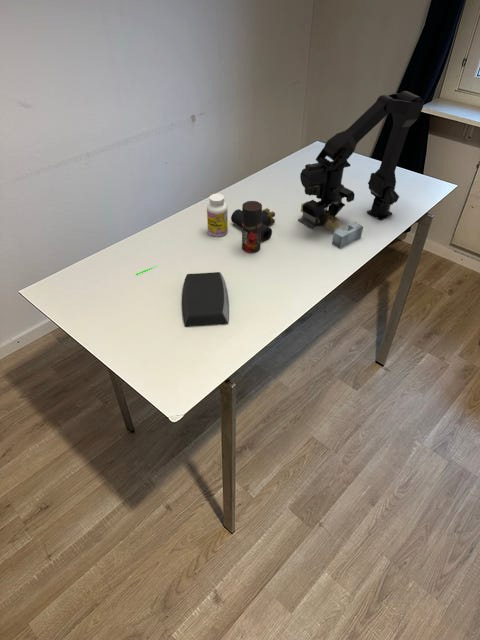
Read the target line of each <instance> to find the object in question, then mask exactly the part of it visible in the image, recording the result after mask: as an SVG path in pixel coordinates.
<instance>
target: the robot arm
mask: <svg viewBox="0 0 480 640" xmlns="http://www.w3.org/2000/svg"><path fill="white" fill-rule="evenodd" d="M424 103H425V102H424V100H423V98H422V97H420V96H419V95H416V94H414V93H413V92H409V91H407V90H403V91H401V92H400V93H393V92H392V93H389V94H381V95H379V96H378V97H377V99H376V101H375V102H374V103H373V104H372V105H371V106H370V107H369V108H368V109H367V110H366V111H365V112H364V113H363V114H362V115H361V116H359V118H358V119H356V120H355V121H354V123H352V124H351V125H350V126H349V127H348V128H347V129H345V130H344V131H341V132H338V133H336V134H334V135H333V136H332V137H330V138H329V139H328V140H327V141H326V142H325V144H324V146H323V148H322V150H320V151H319V154H318V155H317V156H316V158H315V161H316V162H314V163H307V164H305V166H304V168H303V169H302V170H301V172H300V176H299V178H300V182H301V186H302V187H303V188H304V194H305V195H307V196H316V199H318V201H316V200H315V199H311V200H308V202H307V201H305V202H306V203H305V202H303V203H304V204H303V209H302V211H304V212H305V213H307V214H309V215H311V216H312V217H318V218H319V222H320V225H321V227H325V226H324V224H325V222H326V220H327V218H328V216H329V214H331V215H333V216H335V217H336V216H337V215H338V214H339V212H340V211H341V210H342V209H343V207H345V206H346V204H345V203H344V202H343V199H344V198H346V199H345V202H347V203H350V202H353V201H355V191H354V190H353V191H352V190H351V189H350V188H347V187H345V186H344V184H342V182H343V181H342V180H343V175H344V171H345V170H344V169H345V168H348V167H351V163H349V161H348V159H349V158H350V157H351V156H352V155H353V154H354V152H355V151H356V148H357V146H358V145H357V144H358V143H359V142H360V141H361V140H362V139H363V138H364V137H365V136H366V135H368V133H370V132H371V131H372V130H373V129H374V128H375V127H376V126H377V125H378V124H379V123H380V122H381V121H382V120H383V119H384V118H386V116H388V115H389V114H391V117H392V122H393V123H392V126H391V131H390V134H389V136H388V140H387V143H386V146H385V150H384V153H383V156H382V159H381V164H380V166H379V168H378V169H377V170H376V171H375V172H372V173H370V175H369V176H370V177H369V180H368V182H367V184H368V189H369V191H370V194H371V195H373V196H374V198H373V201H372V205H371V209H369V210H367V211H366V213H367V214H368V215H370V216H372V217H374V218H376V219H377V220H379V221H382V220H384V219H386V218H388V217H391V216H392V215H393V212H392V211H390V209H391V206H393V205H394V204H395V203H397V202H398V200H399V198H400V195H399V194H398V193H397V192H396V190H395V188H396V183H397V177H396V169H397V166H398V163H399V160H400V156H401V154H402V152H403V148H404V145H405V142H406V139H407V136H408V134H409V130H410V128H411V126H412V125H413V124H415V122H416V121H418V119H419V117H420V115H421V112H422V110H423V108H424ZM327 158H329V159H331V160H332V161H330V160H329V159H327Z"/></svg>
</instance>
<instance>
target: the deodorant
mask: <svg viewBox="0 0 480 640" xmlns="http://www.w3.org/2000/svg"><path fill="white" fill-rule="evenodd" d="M241 208H242V209H241V210H242V228H241V249H242V251H244V252H245V253H247V254H256V253H258V252H259V251H261V242H262V241H261V221H262V210H263V205H262V202H260V201H256V200H248V201H245V202H243V203H242V207H241Z"/></svg>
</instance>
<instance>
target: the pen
mask: <svg viewBox="0 0 480 640" xmlns="http://www.w3.org/2000/svg"><path fill="white" fill-rule="evenodd" d="M154 267H155V268H157V267H158V265H156V266H153V267H151V268H147V269H144V270H142V272H141V271H139V272H140V273H142V274H144V273H143V272H145V273H146V271H147V272H149V271H151V270H153V269H155V268H154ZM152 268H153V269H152ZM150 269H151V270H150ZM148 270H149V271H148ZM139 272H137V273H136V275H137V276H139V275H138V274H140V273H139ZM140 275H141V274H140Z"/></svg>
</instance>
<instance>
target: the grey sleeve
mask: <svg viewBox="0 0 480 640" xmlns="http://www.w3.org/2000/svg"><path fill="white" fill-rule="evenodd" d="M316 220H317V217H312V216H311V215H309V214H307V213H305V212H304V211H303V213H302V217H299V218H298V219H297V222H299V223H301V224H303V225H304V226H306V227H307V228H308V229H311V230H313V229H318V228H319V227H320V226H321V225H320V223H319V222H317V221H316ZM321 227H322V226H321Z"/></svg>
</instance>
